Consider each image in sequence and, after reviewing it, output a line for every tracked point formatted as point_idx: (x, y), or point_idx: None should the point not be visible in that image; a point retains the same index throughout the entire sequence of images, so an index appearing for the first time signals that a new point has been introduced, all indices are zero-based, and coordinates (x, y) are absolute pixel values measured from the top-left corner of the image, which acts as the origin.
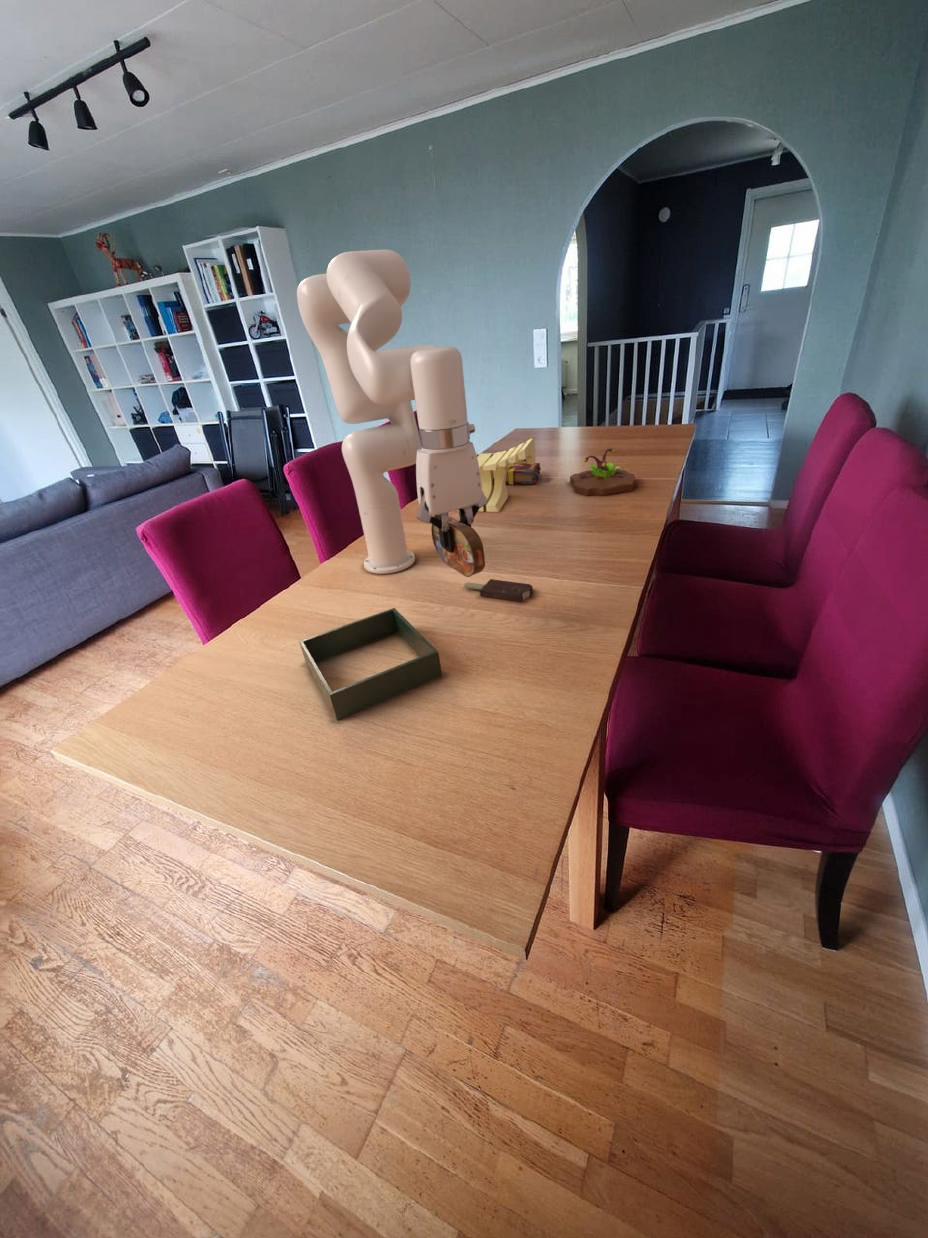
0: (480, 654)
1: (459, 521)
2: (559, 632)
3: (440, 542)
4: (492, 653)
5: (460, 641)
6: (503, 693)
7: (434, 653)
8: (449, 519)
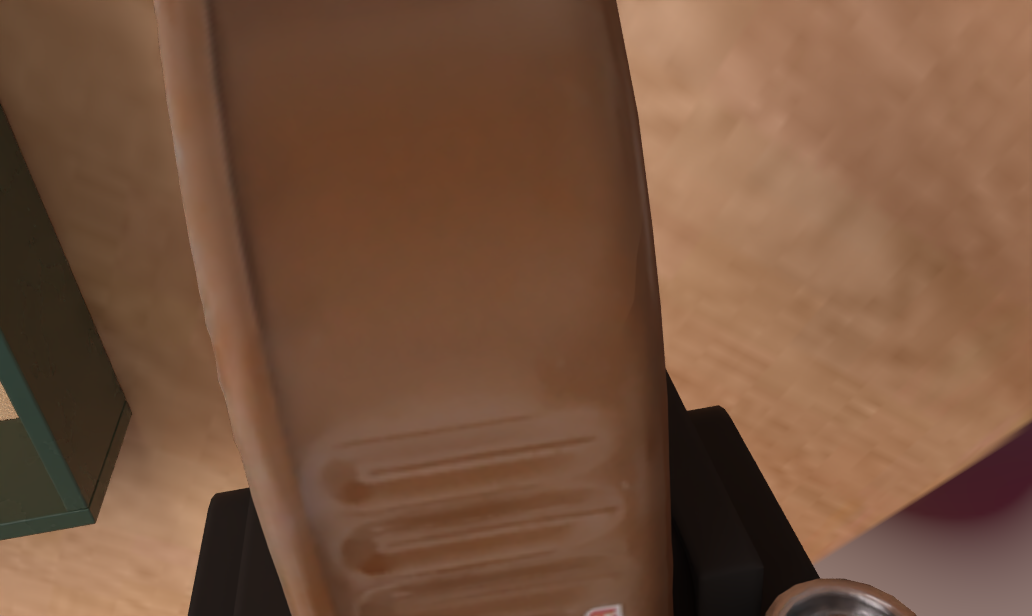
0: None
1: (708, 611)
2: (813, 331)
3: (208, 528)
4: None
5: None
6: None
7: (69, 527)
8: (546, 566)
